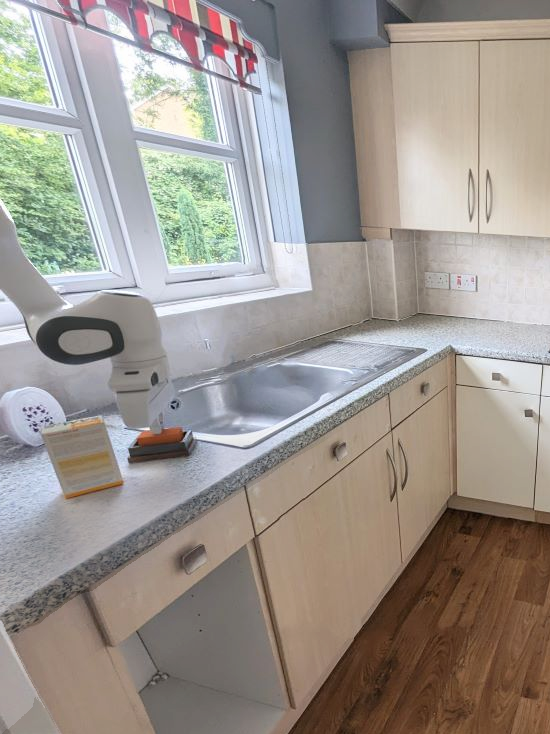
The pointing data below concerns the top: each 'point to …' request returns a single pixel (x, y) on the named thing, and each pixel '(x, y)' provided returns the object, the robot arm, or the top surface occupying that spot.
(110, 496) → the top surface
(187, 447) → the dark grey tray
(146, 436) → the block
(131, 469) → the top surface
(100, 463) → the supplement box
